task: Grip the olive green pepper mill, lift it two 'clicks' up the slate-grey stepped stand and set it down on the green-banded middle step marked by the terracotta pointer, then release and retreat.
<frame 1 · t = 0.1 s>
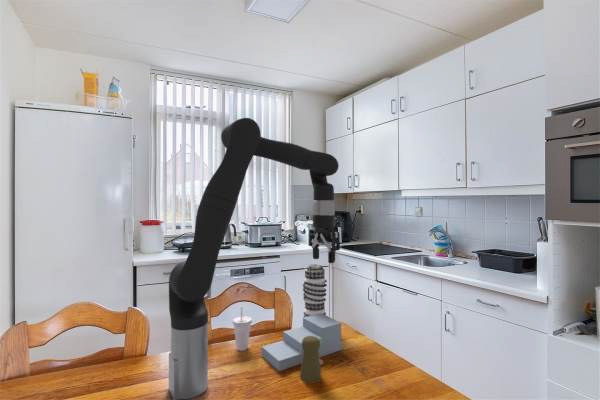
hand: (323, 260, 108), 29 cm above the table, fingers open, 8 cm apart
step stand: (302, 352, 103), on the table
decorative candle: (314, 331, 121), on the table
pointer: (317, 363, 96), on the table
olive green pepper mill: (310, 377, 89), on the table
smoothie: (242, 348, 106), on the table
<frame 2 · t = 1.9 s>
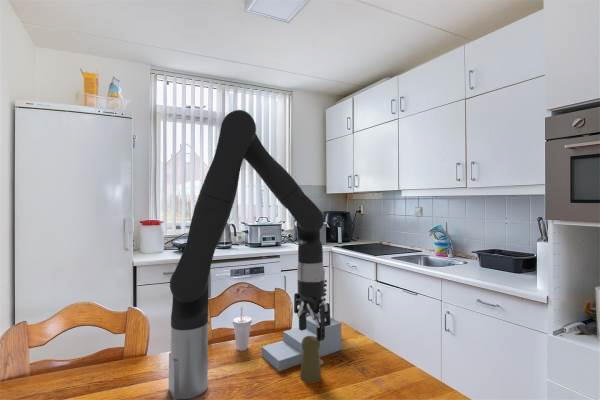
hand: (311, 334, 89), 12 cm above the table, fingers open, 8 cm apart
nothing on the table moved.
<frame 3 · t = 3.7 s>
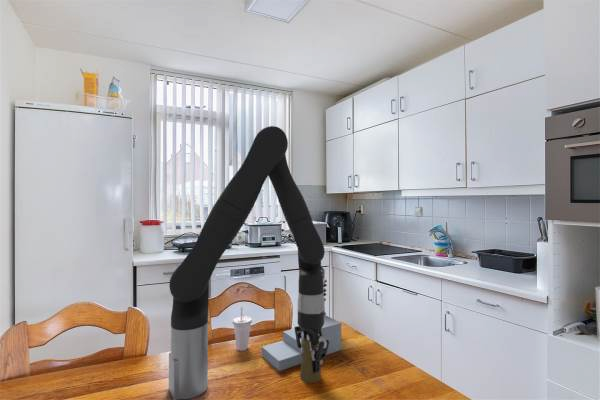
hand: (310, 368, 89), 2 cm above the table, fingers closed on olive green pepper mill, 4 cm apart
olive green pepper mill: (310, 377, 89), on the table, touching gripper
everything else where it was.
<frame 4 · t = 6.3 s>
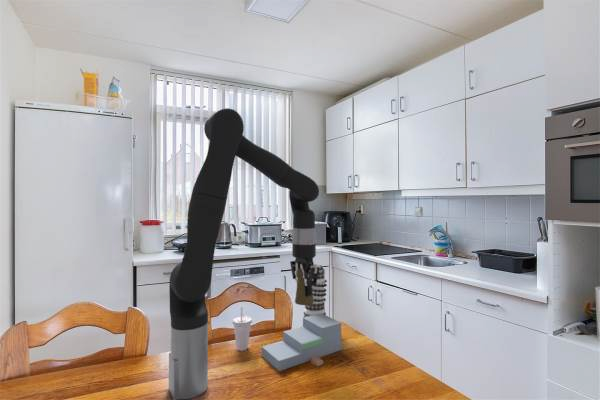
hand: (304, 295, 101), 19 cm above the table, fingers closed on olive green pepper mill, 4 cm apart
olive green pepper mill: (304, 302, 101), point 17 cm above the table, touching gripper
everything else where it was.
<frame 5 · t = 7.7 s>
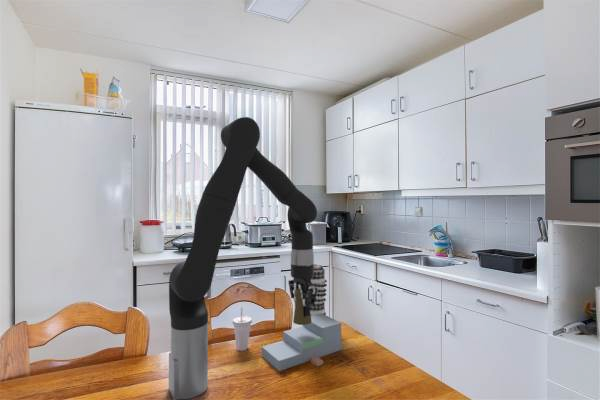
hand: (302, 314, 103), 13 cm above the table, fingers closed on olive green pepper mill, 4 cm apart
olive green pepper mill: (302, 321, 103), point 10 cm above the table, touching gripper
everything else where it was.
when the fingers open (10 cm above the table, at t = 8.9 s): olive green pepper mill drops 2 cm, resting on step stand.
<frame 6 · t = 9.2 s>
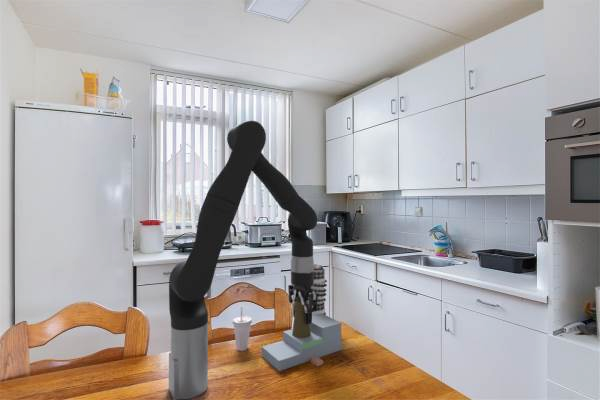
hand: (302, 320, 103), 11 cm above the table, fingers open, 6 cm apart
olive green pepper mill: (301, 334, 103), point 6 cm above the table, touching step stand
everything else where it was.
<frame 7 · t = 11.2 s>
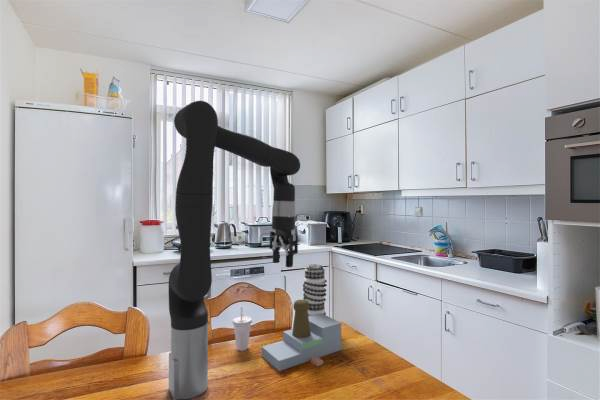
hand: (282, 264, 103), 29 cm above the table, fingers open, 8 cm apart
nothing on the table moved.
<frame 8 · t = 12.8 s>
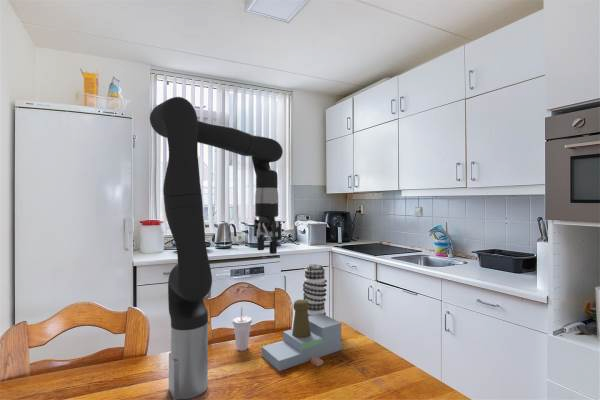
hand: (266, 251, 103), 33 cm above the table, fingers open, 8 cm apart
nothing on the table moved.
at the end: olive green pepper mill inside the target area on the step stand (0.4 cm from its centre), point 5.8 cm above the step stand's base; olive green pepper mill tilted 0°; the gripper is holding nothing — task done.
